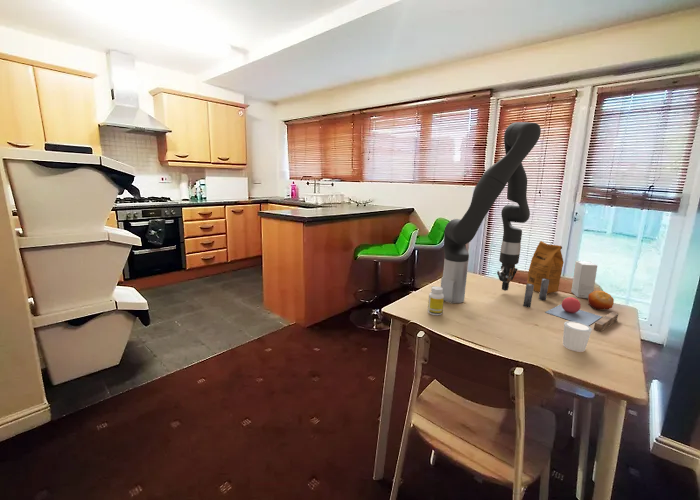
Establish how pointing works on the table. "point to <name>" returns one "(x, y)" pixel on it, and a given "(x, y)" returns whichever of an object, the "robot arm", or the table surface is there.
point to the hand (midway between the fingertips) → (504, 289)
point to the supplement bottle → (436, 301)
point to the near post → (528, 295)
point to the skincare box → (584, 278)
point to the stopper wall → (605, 321)
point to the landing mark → (574, 315)
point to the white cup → (576, 336)
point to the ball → (571, 305)
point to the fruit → (600, 300)
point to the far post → (543, 289)
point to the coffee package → (546, 267)
